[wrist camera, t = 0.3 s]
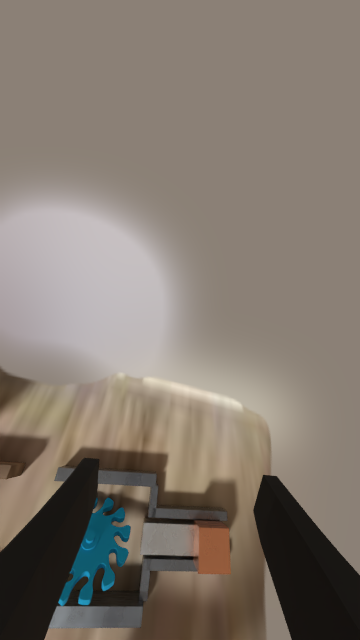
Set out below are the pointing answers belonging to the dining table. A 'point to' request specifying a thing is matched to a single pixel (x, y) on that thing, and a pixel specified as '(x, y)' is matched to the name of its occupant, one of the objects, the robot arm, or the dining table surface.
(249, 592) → the dining table surface
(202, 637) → the dining table surface
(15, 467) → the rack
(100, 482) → the socket
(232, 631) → the dining table surface
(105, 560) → the gear
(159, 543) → the orange block
